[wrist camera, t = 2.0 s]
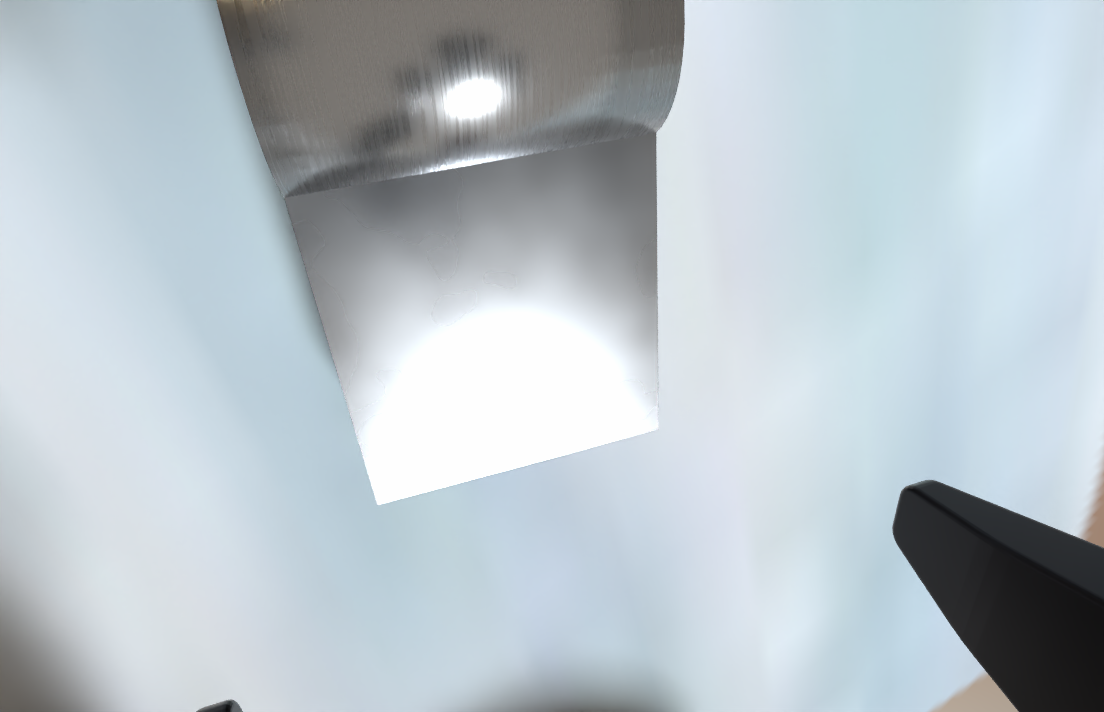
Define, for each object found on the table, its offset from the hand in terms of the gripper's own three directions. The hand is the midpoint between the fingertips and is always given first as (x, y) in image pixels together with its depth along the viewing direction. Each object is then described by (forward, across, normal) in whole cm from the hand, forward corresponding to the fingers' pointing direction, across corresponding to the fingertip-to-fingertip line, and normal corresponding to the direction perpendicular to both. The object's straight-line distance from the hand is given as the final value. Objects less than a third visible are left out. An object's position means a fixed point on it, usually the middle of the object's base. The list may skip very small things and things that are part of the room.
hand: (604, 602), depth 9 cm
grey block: (+8, 0, -3) cm, 9 cm away
